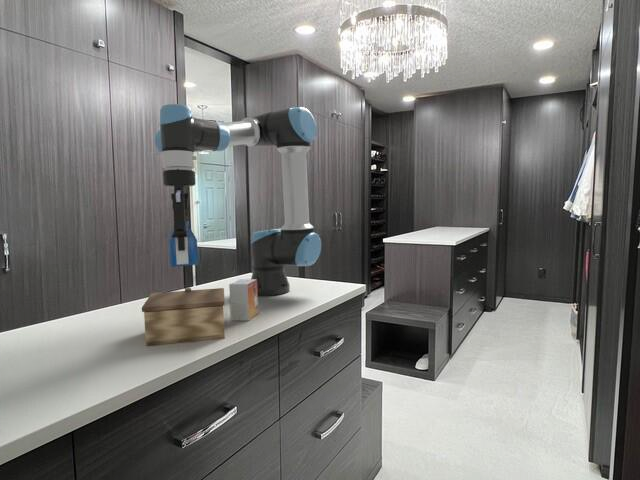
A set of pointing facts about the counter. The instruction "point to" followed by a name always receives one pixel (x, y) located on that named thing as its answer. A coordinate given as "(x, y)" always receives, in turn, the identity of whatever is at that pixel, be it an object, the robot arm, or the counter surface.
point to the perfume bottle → (191, 248)
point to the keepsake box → (184, 325)
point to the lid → (184, 299)
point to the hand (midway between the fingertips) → (184, 261)
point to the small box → (243, 299)
